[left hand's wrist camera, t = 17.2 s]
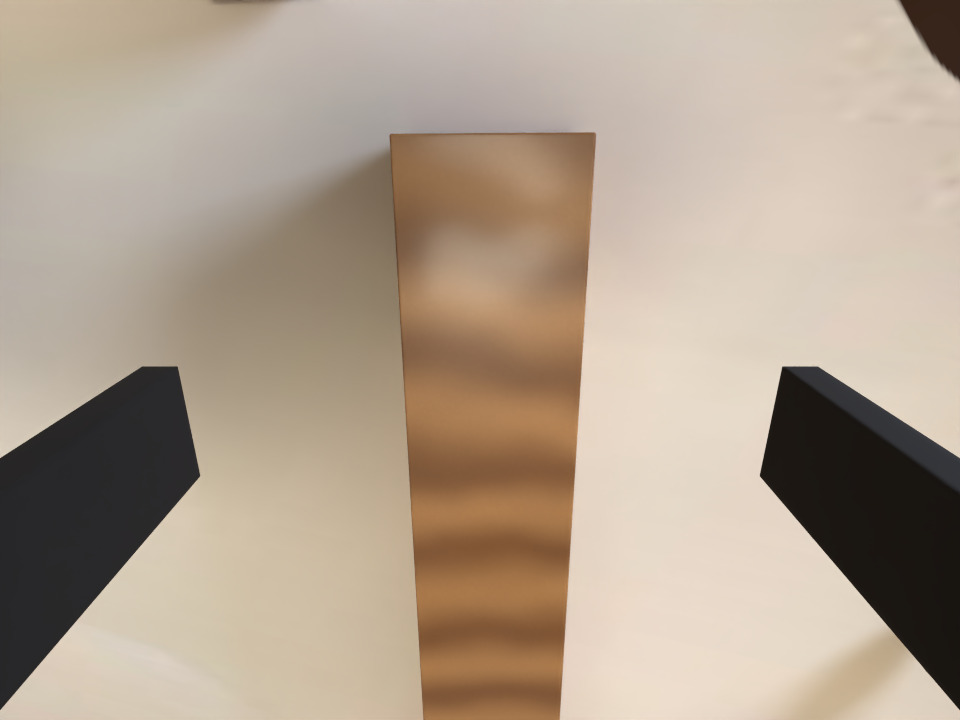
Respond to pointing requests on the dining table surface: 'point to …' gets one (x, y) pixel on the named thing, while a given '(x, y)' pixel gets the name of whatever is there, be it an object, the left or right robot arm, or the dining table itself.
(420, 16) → the dining table surface
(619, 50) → the dining table surface
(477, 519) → the long wooden beam
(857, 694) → the dining table surface
